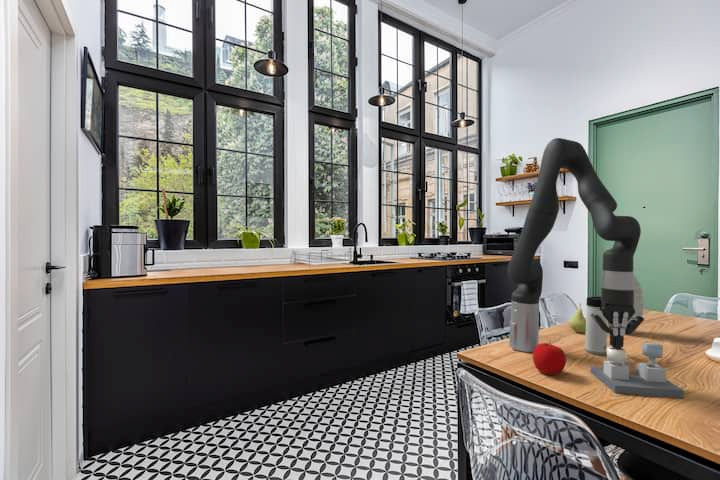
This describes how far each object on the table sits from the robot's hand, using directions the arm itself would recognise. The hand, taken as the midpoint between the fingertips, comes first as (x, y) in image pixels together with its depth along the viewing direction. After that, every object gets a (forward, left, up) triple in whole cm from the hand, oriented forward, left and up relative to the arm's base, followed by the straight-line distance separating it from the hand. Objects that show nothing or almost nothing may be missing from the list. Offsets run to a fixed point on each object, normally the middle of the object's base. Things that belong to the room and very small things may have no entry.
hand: (616, 348), depth 101 cm
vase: (+31, +59, -10) cm, 67 cm away
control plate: (+4, 0, -10) cm, 11 cm away
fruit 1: (-16, +5, -10) cm, 20 cm away
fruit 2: (+12, +56, -10) cm, 58 cm away
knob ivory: (0, 0, -6) cm, 6 cm away
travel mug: (+7, +28, -10) cm, 31 cm away
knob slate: (+9, 0, -5) cm, 10 cm away
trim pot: (+5, +5, -8) cm, 10 cm away
